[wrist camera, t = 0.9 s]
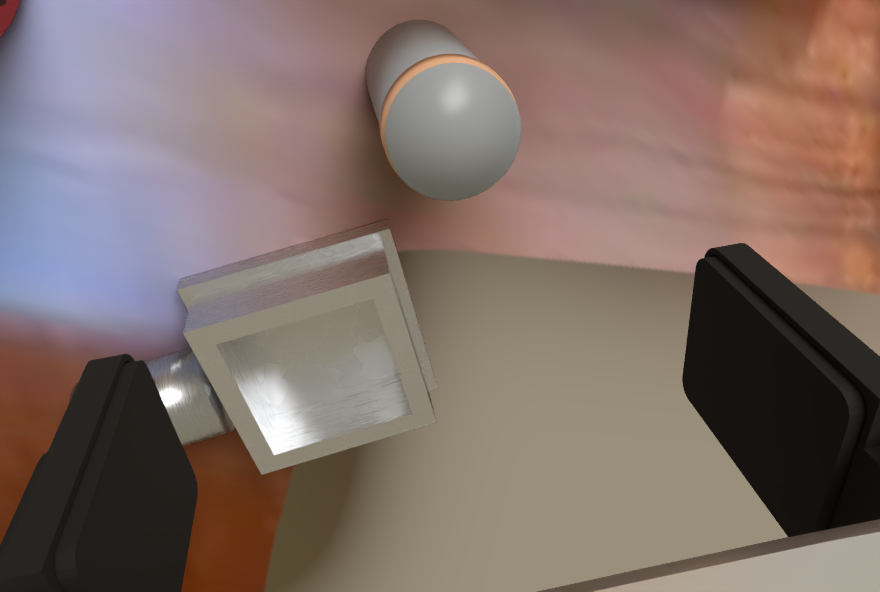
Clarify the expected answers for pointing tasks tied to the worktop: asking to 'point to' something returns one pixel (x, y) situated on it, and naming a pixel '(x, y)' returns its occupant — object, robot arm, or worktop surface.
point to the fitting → (300, 351)
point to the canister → (441, 112)
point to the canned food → (7, 13)
